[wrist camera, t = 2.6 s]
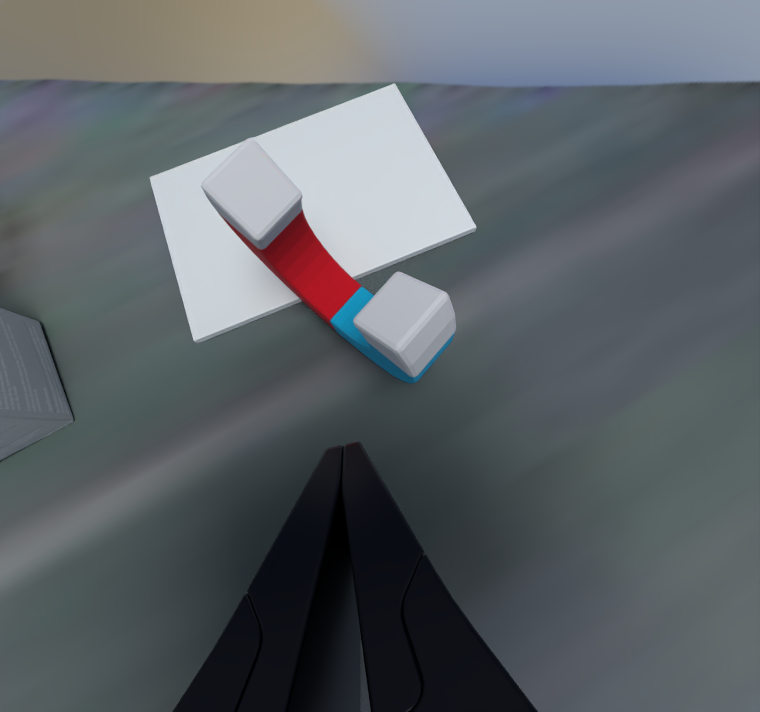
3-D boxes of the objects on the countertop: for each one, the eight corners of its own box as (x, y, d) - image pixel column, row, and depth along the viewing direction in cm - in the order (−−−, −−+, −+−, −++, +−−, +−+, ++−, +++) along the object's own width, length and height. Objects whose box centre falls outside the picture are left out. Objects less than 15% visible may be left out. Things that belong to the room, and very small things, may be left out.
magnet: (435, 359, 21) (476, 313, 11) (407, 392, 21) (422, 376, 11) (300, 246, 22) (230, 117, 13) (271, 276, 22) (177, 168, 12)
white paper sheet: (474, 231, 23) (476, 227, 22) (198, 343, 22) (193, 341, 22) (394, 90, 26) (394, 83, 26) (154, 182, 26) (149, 177, 25)
